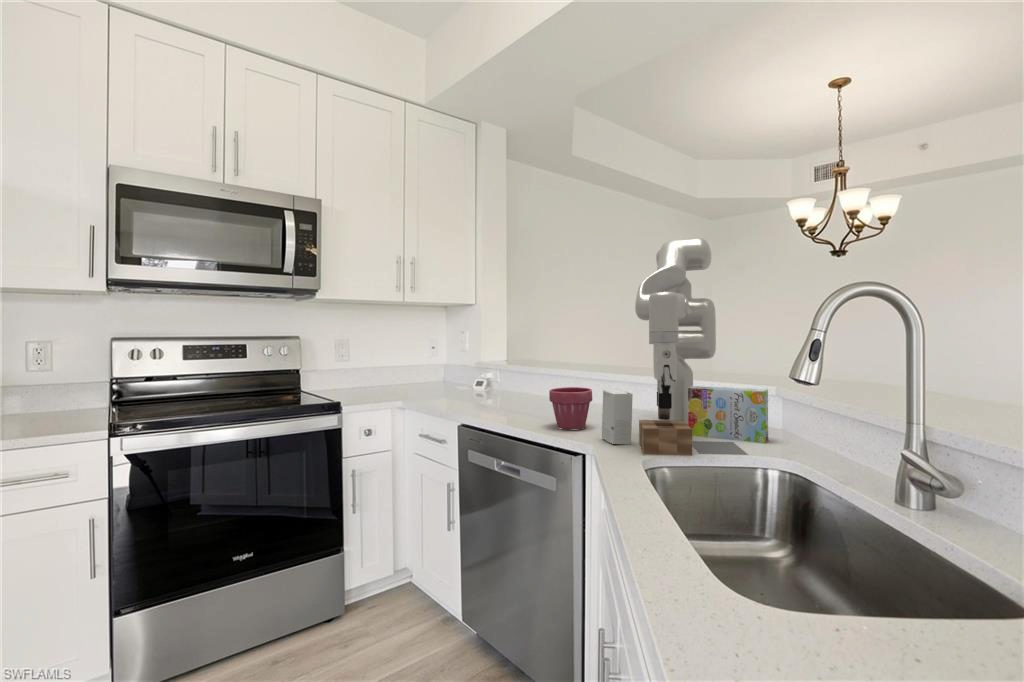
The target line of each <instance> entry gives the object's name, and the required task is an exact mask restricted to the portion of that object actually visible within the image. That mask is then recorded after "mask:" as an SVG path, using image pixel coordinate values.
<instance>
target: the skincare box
mask: <svg viewBox="0 0 1024 682" xmlns="http://www.w3.org/2000/svg"><path fill="white" fill-rule="evenodd" d="M633 395H634V394H633V393H632V392H628V391H627V390H623V389H602V414H601V416H602V417H601V419H602V420H601V439H602V438H603V439H605V440H606V441H605V440H604V441H605V442H607V441H608V442H607V443H609V442H610V443H609V444H611V443H612V444H624V445H631V444H632V424H633V423H632V422H633ZM603 439H602V440H603ZM630 443H631V444H630ZM612 444H611V445H612Z"/></svg>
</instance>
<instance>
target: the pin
mask: <svg viewBox="0 0 1024 682" xmlns="http://www.w3.org/2000/svg"><path fill="white" fill-rule="evenodd" d="M662 382H664V381H662ZM662 385H663V384H662ZM657 392H658V406H657V419H658V420H659V419H661V420H669V419H670V409H660V408H659V393H660V382H659V381H658V391H657Z"/></svg>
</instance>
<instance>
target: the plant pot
mask: <svg viewBox="0 0 1024 682" xmlns="http://www.w3.org/2000/svg"><path fill="white" fill-rule="evenodd" d="M548 395H549V396H548V397H549V398H548V399H549V402H551V403H552V408H553V414H554V417H555V422H556V425H557V428H558V427H559V428H562V429H581V430H584V429H586V424H587V419H588V415H589V409H590V405H591V404H590V403H591V402H593V390H592V389H591V388H589V387H588V388H587V387H580V386H579V387H577V386H576V387H574V386H572V387H571V386H570V387H569V386H567V387H557V388H551V389H549V394H548ZM559 428H558V429H559ZM583 428H584V429H583ZM562 429H561V430H562Z"/></svg>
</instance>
